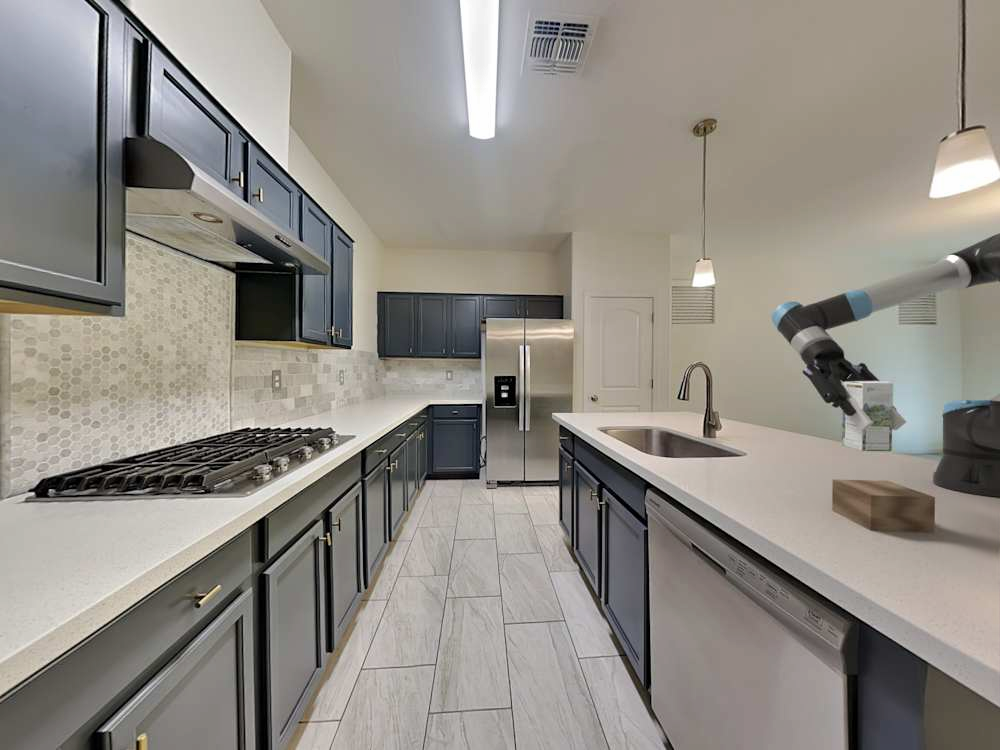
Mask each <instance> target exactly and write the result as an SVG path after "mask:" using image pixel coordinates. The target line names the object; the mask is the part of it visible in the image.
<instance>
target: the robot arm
mask: <svg viewBox="0 0 1000 750" xmlns="http://www.w3.org/2000/svg"><path fill="white" fill-rule="evenodd" d="M996 282H998V285H1000V232H999V233H997V234H994V235H991V236H989V237H987V238H985V239H982V240H981V241H979V242H977V243H974V244H972V245H969V246H967V247H965V248H963V249H961V250H958V251H956V252H953V253H952V252H951V253H950V254H946V255H944V256H942V257H941V258H940V259H939V260H938V261H937V262H934V263H932V264H929V265H926V266H922V267H919V268H917V269H914V270H910V271H908V272H907V271H906V272H905V273H902V274H898V275H895V276H893V277H890V278H887V279H883V280H880V281H876V282H875V283H874V282H873V283H872V284H871V283H870V284H868V285H865V286H862V287H859V288H855V289H853V290H850V291H847V292H846V291H845V292H844V293H840V294H837V295H835V296H832V297H828V298H825V299H823V300H820V301H816V302H814V303H810V304H807V305H803V304H801V303H800V302H798V301H787V302H784V303H781V304H780V305H779V306H777V307H775V310H773V312H772V314H771V322H772V323H773V325H774V327H775V328H776V329H777V331H778V332H779V333H780V334H781V335H782V336H783V337H784V339H785V340H786V341H787V342H788V343H789V345H790V346H791V347H792V348H793V350H794V351H795V352H796V353H797V355H798V356H799V357H800V358H801V361H803V362H804V364H805V365H806V367H805V368H804V369H803V370H802V374H803V375H805V376H806V377H807V378H808V379H809V381H810V382H811V383H812V385H813V387H814V388H815V389H816V391H817V392H818V394H819V395H820V397H821V399H822V400H823V401H824V402H825V403H826V404H831V403H832V405H831V406H832V407H833V408H835V409H837V408H840V409H841V410H842V413H843V412H844V413H845V414H846V415H847V416H849V417H850V418H851V419H852V420H853V422H854V423H855V424H856V425H857V427H858V428H859V429H860V430H861V431H865V430H866V429H867V428H868V427H869V426H870V425H871V424H873V422H872V421H871V419H870V418H869V417H868V416H867V415H866V413H865V412H864V411H863V410H862V409H861V408H860V406H859V405H858V404H857V403H856V402H855V400H854V399H853V398H849V399H848V400H847V395H846V393H845V390H844V388H843V382H845V381H881V380H880V379H879V378H877V377H876V375H874V374H873V373H872V371H870V370H869V368H868V366H867V364H865V363H864V362H860V363H859V364H853V363H852V362H850V361H849V360H848V359H846V358H845V350H844V349H843V348H842V347H841V346H840V345H839V344H838V342H836V341H835V340H834V338H833V337H832V336H831V335H830V334H829V333H828V332H827V331H826V330H831V329H833V328H837V327H841V326H844V325H847V324H850V323H854V322H858V321H860V320H863V319H866V318H868V317H870V316H871V315H872V314H873V313H876V312H880V311H882V310H886V309H889V308H892V307H895V306H899V305H902V304H905V303H910V302H911V301H915V300H916V301H917V300H918V299H922V298H924V297H928V296H932V295H935V294H938V293H941V292H944V291H947V290H953V291H961V290H964V289H967V288H971V287H974V286H980V285H984V284H990V283H996ZM941 417H942V456H941V458H940V460H939V462H938V464H937V466H936V470H935V471H934V472H933V474H932V483H933V484H934V485H937V486H938V487H941V488H945V489H947V490H951V491H956V492H962V493H968V494H973V495H979V496H986V497H987V496H988V497H998V498H1000V392H999V393H998V394H996V395H994V396H992V397H991V398H990V399H973V400H968V399H967V400H966V399H965V400H963V399H962V400H959V399H958V400H950V401H947V402H945V404H944V405H943V410H942V415H941ZM905 424H907V421H906V420H905V418H904V417H903V416H902V415H901V413H899V412H898V410H897V408H896V407H895V406H894V405H893V414H892V431H898V430H899V429H900V428H901V427H903V425H905Z"/></svg>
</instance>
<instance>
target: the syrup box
mask: <svg viewBox="0 0 1000 750" xmlns="http://www.w3.org/2000/svg"><path fill="white" fill-rule="evenodd" d="M842 385H843V388H844V390H845V393H846V395H847V400H848V399H849V398H853V399H854V400H855V402H856V403H857V404H858V405H859V406H860V408H861V409H862V410H863V411H864V412H865V413H866V415H867V416H868V417H869V418H870V419H871V421H872V422H873V424H871V425H870V426H869V427H868V428H867V429H866V430H865V431H861V430H860V429H859V428H858V427H857V425H856V424H855V423H854V422H853V420H852V419H851V418H850V417H849V416H847V415H846V414H845V413H844V412H843V411H842V427H841V428H842V431H841V432H842V433H841V439H842V440H841V445H842V447H846V448H848V449H853V450H857V451H861V452H892V448H893V442H892V441H893V429H892V414H893V406H894V403H893V402H894V383H893V382H890V381H884V380H880V381H845V382H842Z"/></svg>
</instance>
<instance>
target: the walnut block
mask: <svg viewBox="0 0 1000 750" xmlns="http://www.w3.org/2000/svg"><path fill="white" fill-rule="evenodd" d="M831 482H832V490H831V492H832V493H831V494H832V496H831V497H832V499H831V500H832V501H831V503H832V505H831V508H832V509H831V511H833V512H835V513H836V514H838V515H840V516H842V517H844V518H846V519H847V520H850V521H852V522H854V523H856V524H858V525H859V524H860V526H861V525H862V526H861V527H863V526H864V527H863V528H865V529H867V530H868V531H872V530H873V531H874V532H877V531H878V532H896V531H900V532H902V533H919V532H921V534H922V533H925V534H935V531H936V530H935V528H936V527H935V524H936V521H935V519H936V518H935V516H936V515H935V513H936V497H935V496H933V495H929V494H927V493H924V492H922V491H918V490H916V489H912V488H909V487H907V486H903V485H901V484H897V483H896V482H892V481H890V480H889V481H888V480H870V479H868V480H867V479H865V480H864V479H863V480H862V479H832V480H831Z"/></svg>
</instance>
